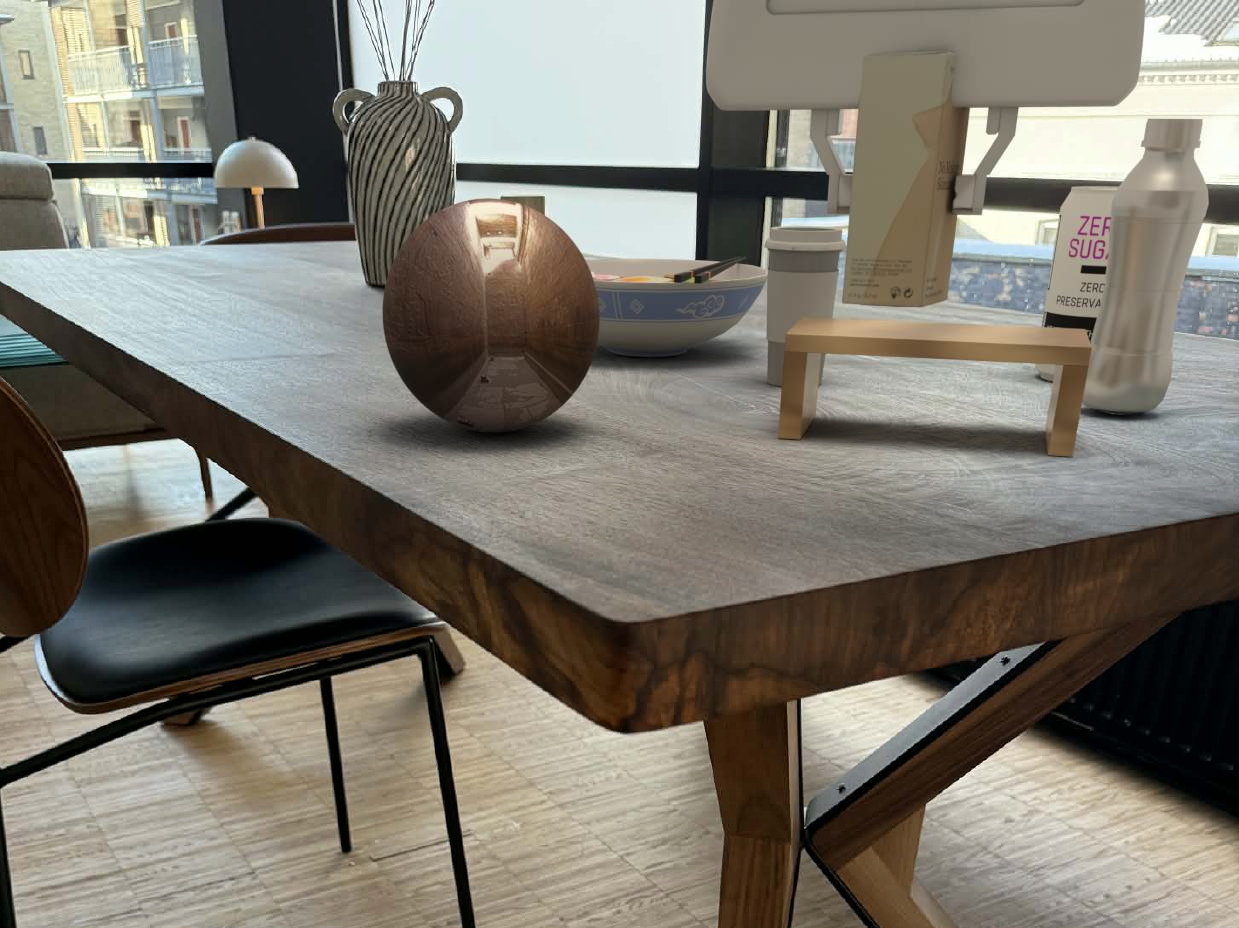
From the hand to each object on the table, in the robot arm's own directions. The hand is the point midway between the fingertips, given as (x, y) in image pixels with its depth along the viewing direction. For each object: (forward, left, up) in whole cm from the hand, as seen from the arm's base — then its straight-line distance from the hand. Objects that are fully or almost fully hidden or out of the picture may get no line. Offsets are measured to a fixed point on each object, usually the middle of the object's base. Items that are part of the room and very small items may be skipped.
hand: (903, 214), depth 68 cm
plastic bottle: (-16, -39, -16) cm, 45 cm away
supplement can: (-14, -55, -16) cm, 59 cm away
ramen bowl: (+26, -58, -16) cm, 66 cm away
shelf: (-2, -26, -16) cm, 31 cm away
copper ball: (+28, -18, -16) cm, 37 cm away
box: (0, 0, -4) cm, 4 cm away
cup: (+10, -45, -16) cm, 49 cm away
